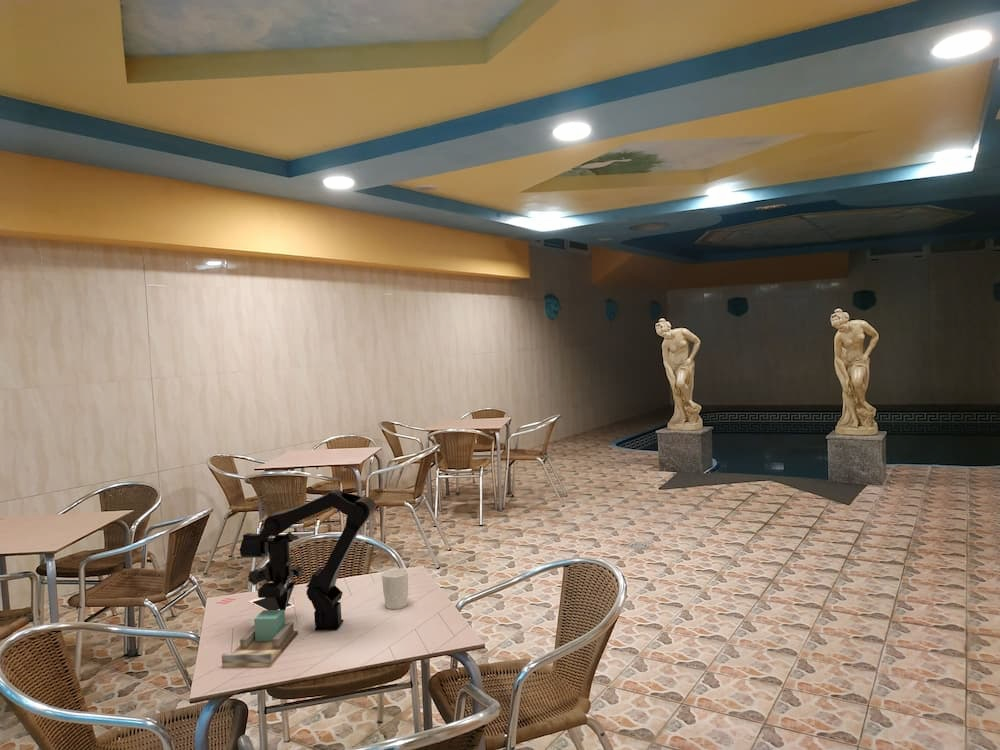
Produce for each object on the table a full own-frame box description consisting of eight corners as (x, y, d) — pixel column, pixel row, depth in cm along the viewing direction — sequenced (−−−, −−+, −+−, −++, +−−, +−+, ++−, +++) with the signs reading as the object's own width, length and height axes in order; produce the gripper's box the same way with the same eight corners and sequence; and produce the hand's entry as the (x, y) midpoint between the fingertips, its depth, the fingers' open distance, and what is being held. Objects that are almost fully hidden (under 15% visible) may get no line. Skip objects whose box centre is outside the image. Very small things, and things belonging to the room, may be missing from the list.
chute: (297, 634, 192) (297, 622, 192) (270, 666, 173) (269, 653, 173) (254, 634, 193) (253, 622, 193) (222, 667, 174) (221, 653, 174)
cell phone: (271, 595, 225) (270, 593, 225) (296, 607, 214) (296, 605, 214) (247, 602, 219) (247, 600, 219) (272, 615, 208) (272, 613, 208)
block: (285, 631, 192) (284, 609, 192) (277, 640, 186) (276, 618, 186) (264, 631, 193) (263, 610, 192) (255, 641, 187) (254, 619, 186)
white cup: (415, 602, 212) (413, 570, 212) (397, 611, 205) (396, 578, 205) (395, 598, 216) (393, 567, 216) (377, 607, 210) (376, 574, 209)
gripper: (265, 547, 207) (268, 599, 208) (237, 568, 189) (241, 624, 189) (301, 546, 207) (304, 598, 207) (277, 567, 188) (281, 624, 189)
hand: (282, 610), depth 198 cm, fingers closed
